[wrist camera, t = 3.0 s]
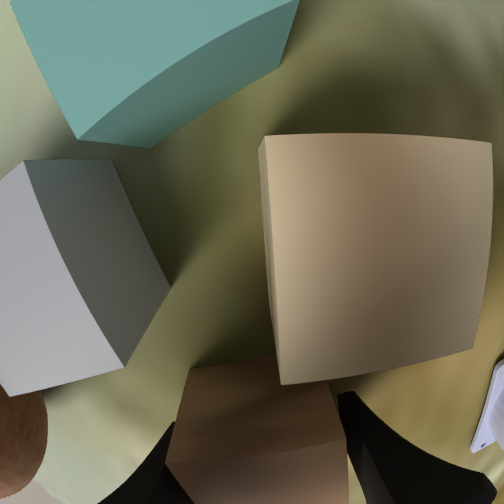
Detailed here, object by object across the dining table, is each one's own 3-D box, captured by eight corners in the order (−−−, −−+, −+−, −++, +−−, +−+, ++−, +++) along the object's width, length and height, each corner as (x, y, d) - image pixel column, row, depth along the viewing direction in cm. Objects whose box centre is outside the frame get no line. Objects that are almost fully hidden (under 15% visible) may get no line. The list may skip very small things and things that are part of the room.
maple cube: (399, 148, 10) (491, 143, 5) (398, 283, 11) (472, 348, 6) (257, 151, 10) (265, 135, 5) (268, 297, 11) (281, 384, 6)
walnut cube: (314, 344, 12) (346, 438, 7) (326, 427, 13) (348, 512, 8) (189, 367, 12) (165, 463, 7) (223, 445, 13) (217, 530, 9)
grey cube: (112, 159, 10) (23, 160, 5) (171, 287, 11) (124, 367, 6) (20, 219, 10) (-67, 251, 6) (73, 327, 12) (9, 396, 7)
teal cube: (201, -25, 8) (178, -110, 3) (278, 68, 9) (300, -3, 4) (88, 49, 9) (9, 2, 4) (151, 149, 10) (77, 139, 5)
